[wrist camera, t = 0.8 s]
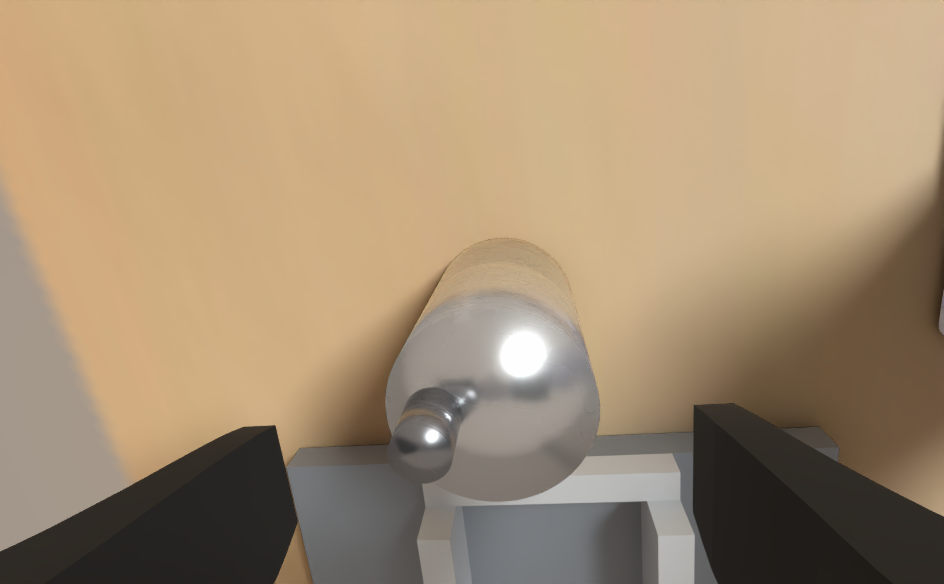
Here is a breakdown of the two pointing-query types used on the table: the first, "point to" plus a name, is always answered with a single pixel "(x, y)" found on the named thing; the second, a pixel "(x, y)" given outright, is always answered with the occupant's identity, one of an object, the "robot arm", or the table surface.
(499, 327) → the spout can
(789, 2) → the table surface
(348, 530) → the grey framed base plate
